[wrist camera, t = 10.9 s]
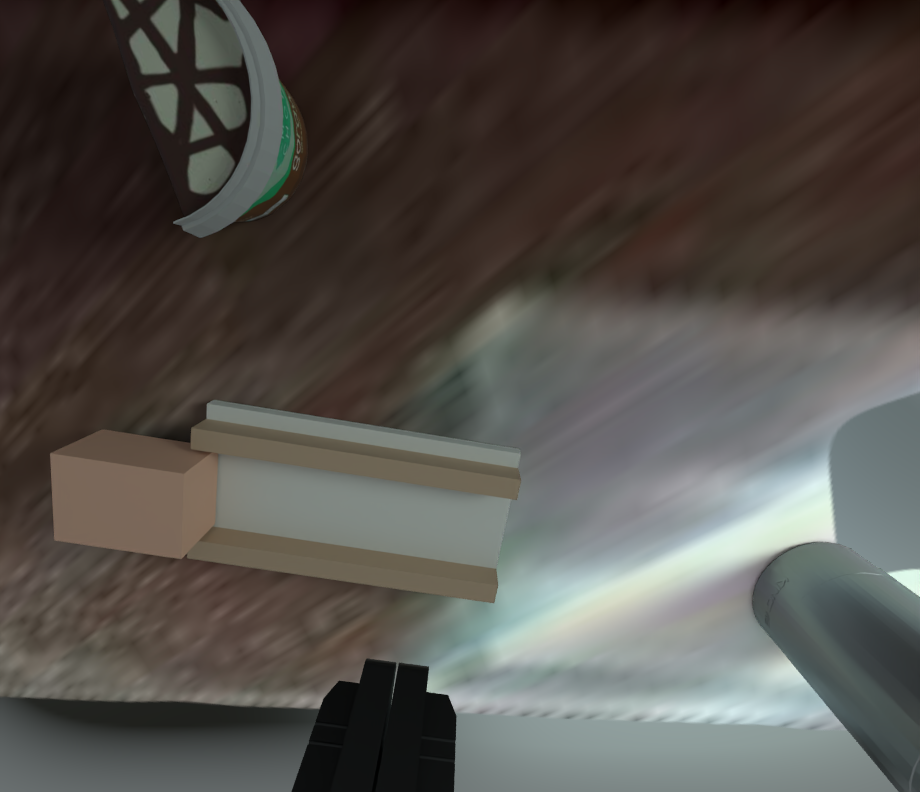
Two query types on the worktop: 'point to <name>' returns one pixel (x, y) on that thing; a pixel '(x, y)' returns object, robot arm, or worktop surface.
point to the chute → (356, 501)
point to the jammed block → (133, 493)
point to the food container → (212, 107)
